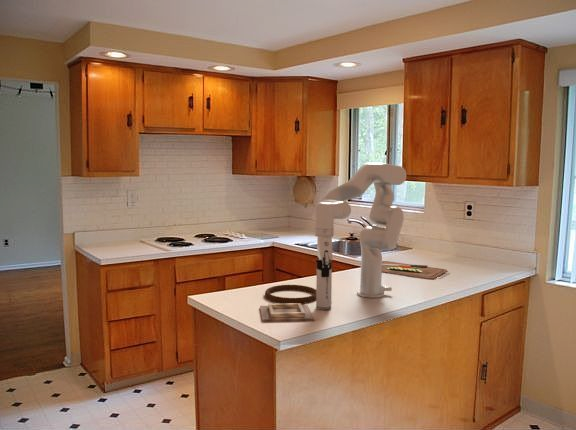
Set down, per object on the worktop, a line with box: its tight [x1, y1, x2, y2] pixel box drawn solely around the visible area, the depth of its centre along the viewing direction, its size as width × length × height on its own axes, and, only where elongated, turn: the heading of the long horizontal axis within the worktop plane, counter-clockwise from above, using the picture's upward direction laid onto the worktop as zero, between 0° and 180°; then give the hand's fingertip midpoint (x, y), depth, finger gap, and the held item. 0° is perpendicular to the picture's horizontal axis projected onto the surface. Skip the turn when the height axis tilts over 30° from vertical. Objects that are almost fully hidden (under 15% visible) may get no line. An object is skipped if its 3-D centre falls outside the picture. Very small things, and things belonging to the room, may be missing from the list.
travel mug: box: [315, 259, 333, 311], centre depth 216 cm, size 6×7×20 cm
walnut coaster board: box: [259, 303, 315, 323], centre depth 208 cm, size 20×18×2 cm
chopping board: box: [382, 260, 451, 280], centre depth 292 cm, size 45×27×3 cm, turn 55°
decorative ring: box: [264, 284, 316, 305], centre depth 236 cm, size 24×3×30 cm
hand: (323, 274), depth 216 cm, fingers closed on travel mug, 6 cm apart
